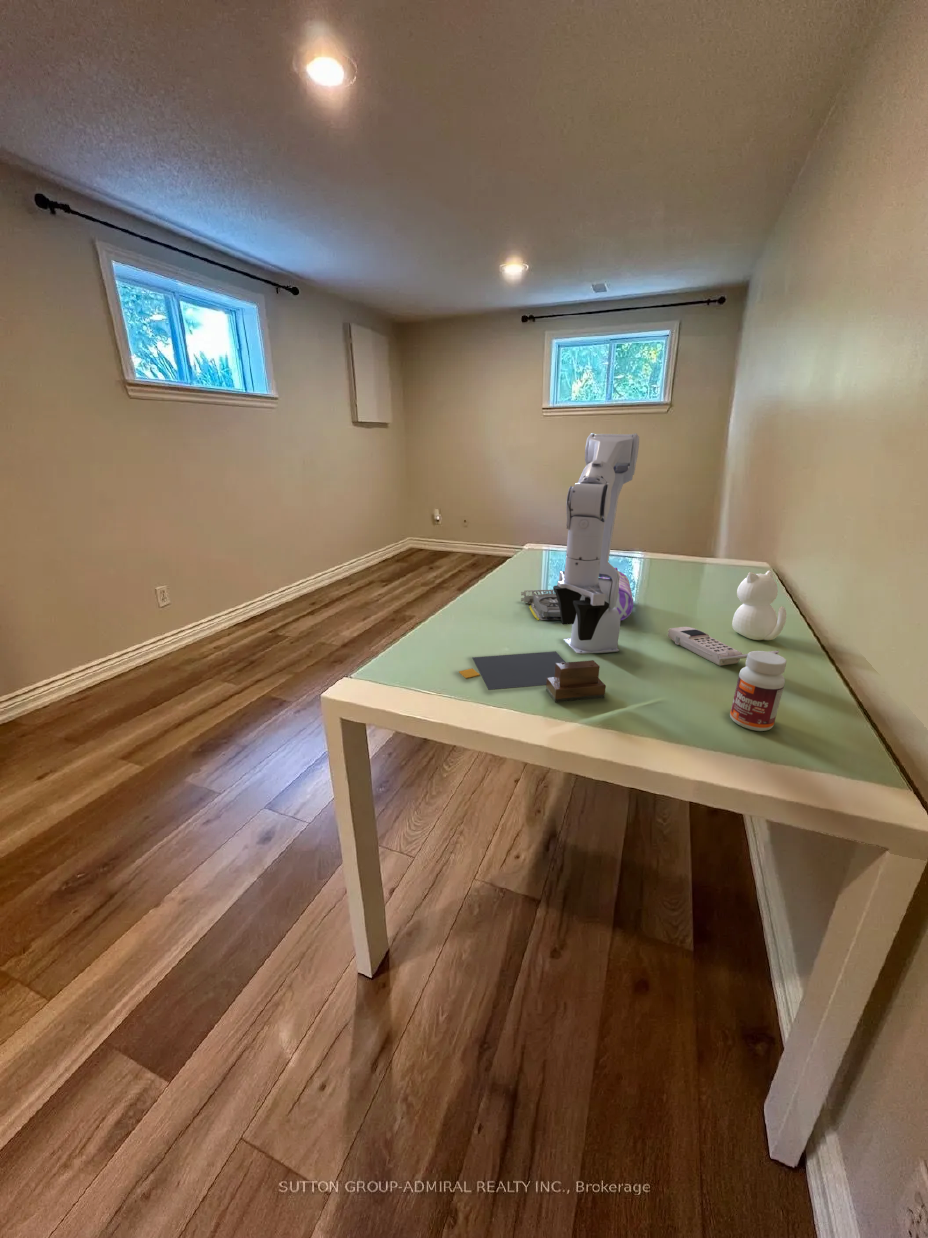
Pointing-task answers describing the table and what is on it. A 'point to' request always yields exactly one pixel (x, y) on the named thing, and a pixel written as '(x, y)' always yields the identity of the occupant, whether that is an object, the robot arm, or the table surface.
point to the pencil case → (624, 597)
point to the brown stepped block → (575, 682)
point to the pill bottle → (759, 691)
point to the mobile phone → (706, 646)
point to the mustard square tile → (469, 673)
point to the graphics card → (542, 604)
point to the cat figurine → (758, 608)
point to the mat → (517, 669)
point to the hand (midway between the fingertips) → (576, 631)
